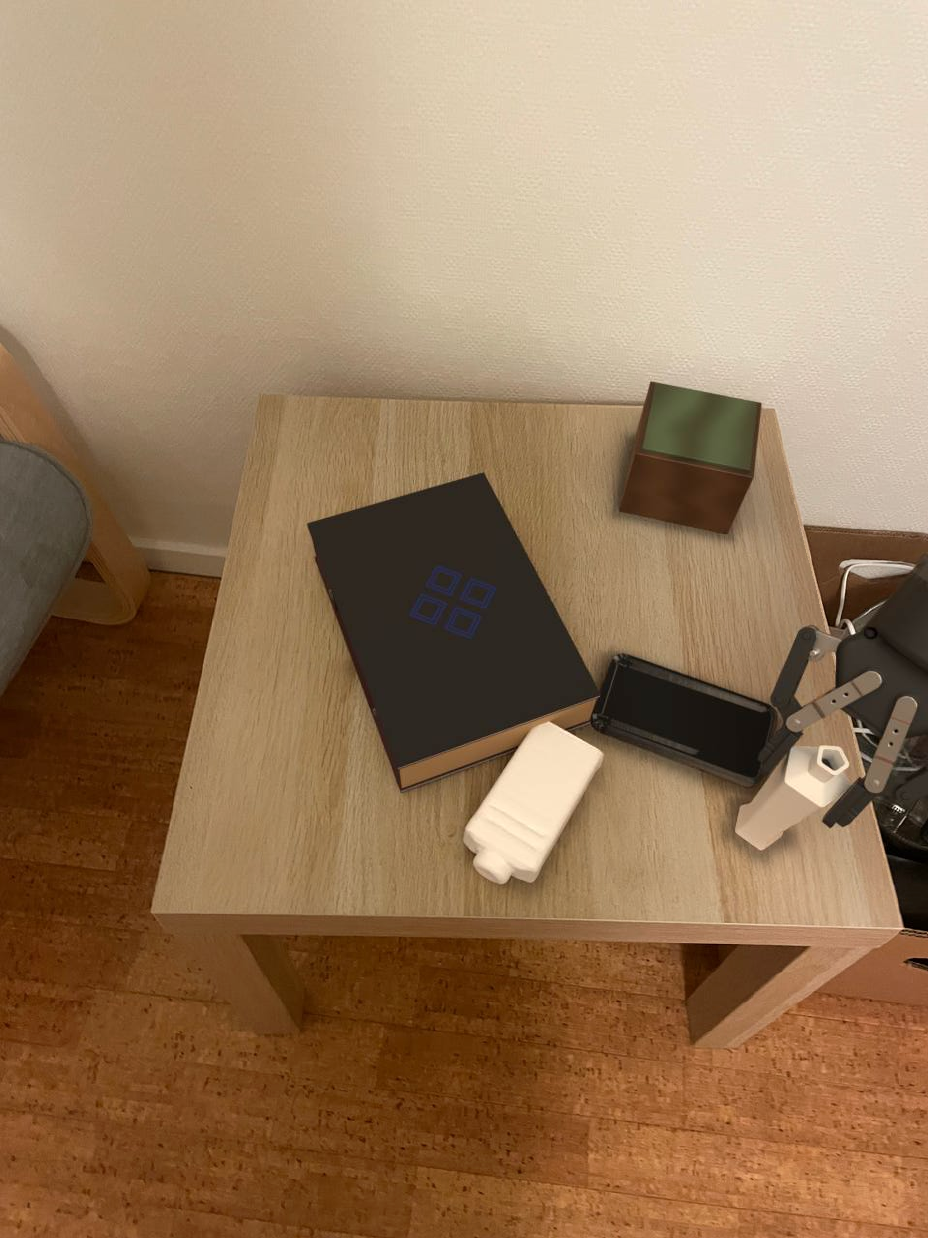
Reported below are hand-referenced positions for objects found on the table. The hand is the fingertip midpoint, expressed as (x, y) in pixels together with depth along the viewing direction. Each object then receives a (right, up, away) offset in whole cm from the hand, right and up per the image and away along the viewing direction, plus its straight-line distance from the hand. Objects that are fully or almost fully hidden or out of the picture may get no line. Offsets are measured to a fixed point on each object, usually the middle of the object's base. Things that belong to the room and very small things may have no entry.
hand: (795, 795), depth 59 cm
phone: (-4, +3, +15) cm, 16 cm away
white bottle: (-18, -3, +10) cm, 21 cm away
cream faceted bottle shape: (+1, -5, +10) cm, 11 cm away
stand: (-1, +26, +29) cm, 39 cm away
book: (-25, +10, +19) cm, 33 cm away
